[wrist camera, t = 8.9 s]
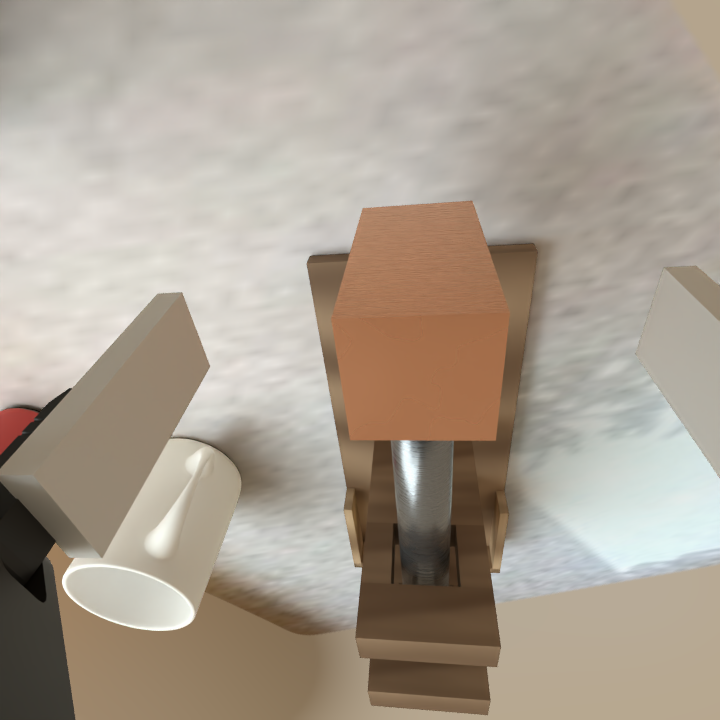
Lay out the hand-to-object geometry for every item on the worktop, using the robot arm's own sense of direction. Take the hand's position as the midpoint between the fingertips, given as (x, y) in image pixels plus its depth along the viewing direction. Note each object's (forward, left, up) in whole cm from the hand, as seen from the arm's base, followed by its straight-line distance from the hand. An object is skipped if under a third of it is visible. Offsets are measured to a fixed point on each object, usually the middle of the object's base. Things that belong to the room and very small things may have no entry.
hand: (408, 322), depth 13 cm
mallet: (+9, 0, -6) cm, 11 cm away
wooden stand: (+16, 0, -12) cm, 20 cm away
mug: (+20, -18, -12) cm, 29 cm away
